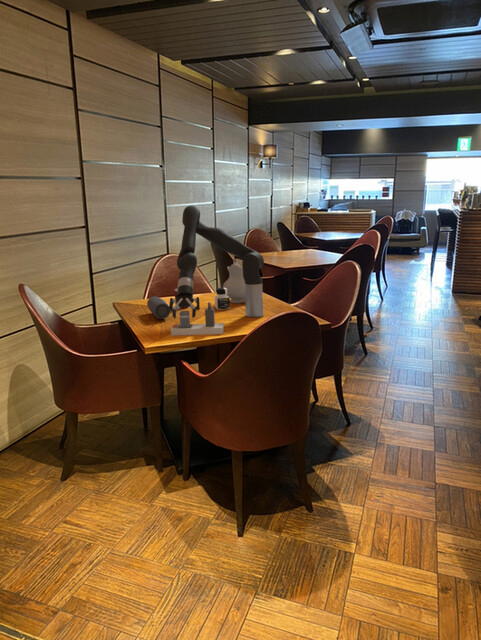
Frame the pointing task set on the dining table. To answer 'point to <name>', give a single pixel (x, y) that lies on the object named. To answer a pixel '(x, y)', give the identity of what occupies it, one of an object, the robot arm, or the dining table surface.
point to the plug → (184, 319)
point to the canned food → (176, 297)
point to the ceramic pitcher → (235, 283)
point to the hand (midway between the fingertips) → (183, 317)
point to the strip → (201, 326)
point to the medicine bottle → (222, 299)
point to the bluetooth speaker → (158, 307)
